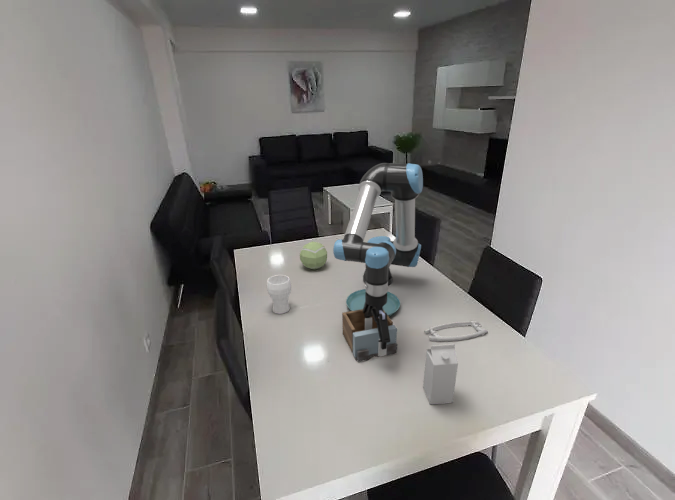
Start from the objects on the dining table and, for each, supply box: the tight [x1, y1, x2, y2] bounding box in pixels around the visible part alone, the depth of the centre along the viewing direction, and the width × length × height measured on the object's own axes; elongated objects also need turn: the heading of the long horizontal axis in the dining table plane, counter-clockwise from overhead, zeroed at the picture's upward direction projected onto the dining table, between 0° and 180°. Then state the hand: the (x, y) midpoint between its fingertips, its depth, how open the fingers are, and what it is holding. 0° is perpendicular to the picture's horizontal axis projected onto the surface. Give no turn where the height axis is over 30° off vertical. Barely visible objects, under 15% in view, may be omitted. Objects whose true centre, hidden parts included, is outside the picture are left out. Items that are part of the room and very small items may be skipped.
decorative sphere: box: [299, 241, 328, 270], centre depth 197 cm, size 15×15×15 cm
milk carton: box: [422, 343, 459, 405], centre depth 106 cm, size 7×7×19 cm
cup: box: [266, 274, 292, 315], centre depth 156 cm, size 11×11×15 cm
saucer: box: [345, 288, 401, 317], centre depth 158 cm, size 24×24×3 cm
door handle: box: [423, 320, 489, 343], centre depth 139 cm, size 3×10×25 cm
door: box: [352, 324, 398, 359], centre depth 127 cm, size 16×2×9 cm, turn 106°
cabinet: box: [341, 309, 398, 363], centre depth 133 cm, size 16×18×10 cm
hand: (375, 343), depth 128 cm, fingers open, 13 cm apart
